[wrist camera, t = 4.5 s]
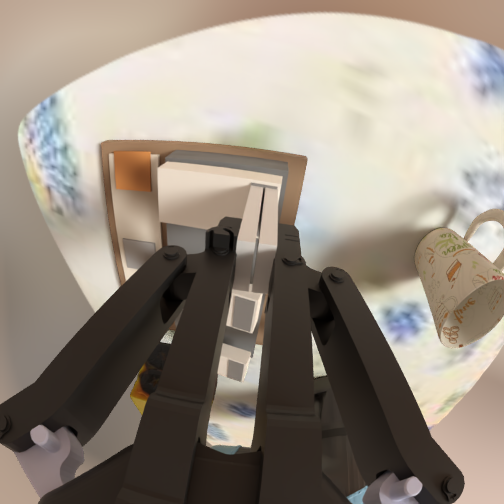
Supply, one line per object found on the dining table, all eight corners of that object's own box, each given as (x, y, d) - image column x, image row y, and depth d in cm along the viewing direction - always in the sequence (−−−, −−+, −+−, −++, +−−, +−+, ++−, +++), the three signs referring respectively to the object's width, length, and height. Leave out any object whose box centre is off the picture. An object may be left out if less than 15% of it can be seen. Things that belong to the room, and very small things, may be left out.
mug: (390, 267, 27) (422, 341, 18) (455, 168, 20) (520, 217, 11) (436, 289, 28) (468, 353, 19) (495, 207, 21) (548, 258, 13)
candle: (218, 350, 37) (205, 413, 28) (218, 383, 42) (209, 436, 34) (150, 338, 37) (127, 395, 29) (161, 372, 43) (145, 421, 34)
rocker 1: (274, 224, 20) (271, 241, 18) (172, 207, 21) (158, 222, 19) (283, 172, 18) (281, 184, 16) (171, 158, 19) (156, 168, 17)
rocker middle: (259, 314, 25) (251, 334, 23) (181, 289, 26) (168, 306, 24) (266, 281, 23) (258, 301, 21) (179, 256, 24) (165, 272, 22)
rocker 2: (249, 366, 30) (242, 383, 28) (186, 344, 31) (176, 359, 29) (253, 346, 28) (246, 364, 26) (184, 322, 29) (173, 338, 27)
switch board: (265, 339, 34) (264, 361, 31) (133, 315, 34) (123, 334, 31) (306, 156, 21) (311, 168, 18) (106, 140, 21) (85, 150, 18)
